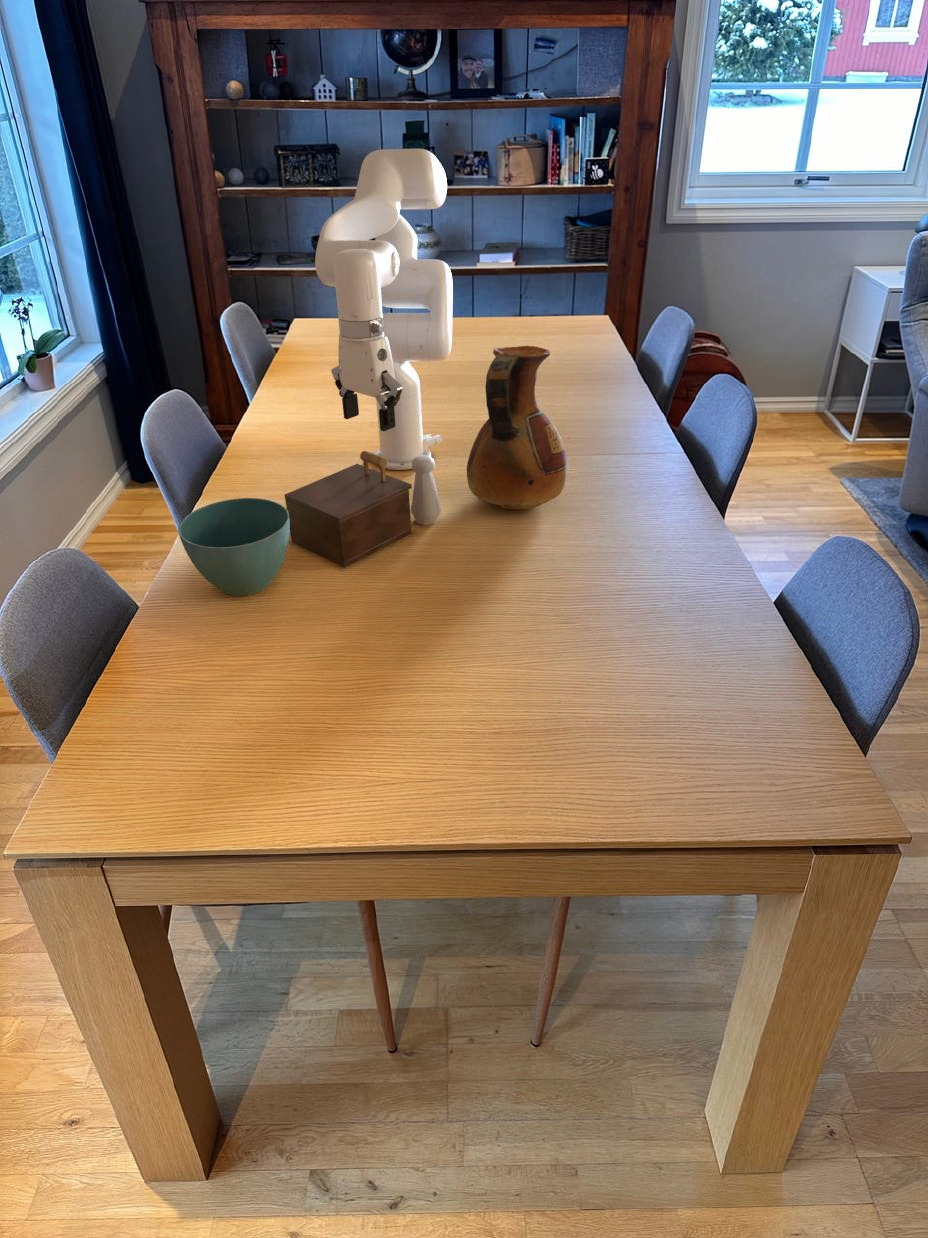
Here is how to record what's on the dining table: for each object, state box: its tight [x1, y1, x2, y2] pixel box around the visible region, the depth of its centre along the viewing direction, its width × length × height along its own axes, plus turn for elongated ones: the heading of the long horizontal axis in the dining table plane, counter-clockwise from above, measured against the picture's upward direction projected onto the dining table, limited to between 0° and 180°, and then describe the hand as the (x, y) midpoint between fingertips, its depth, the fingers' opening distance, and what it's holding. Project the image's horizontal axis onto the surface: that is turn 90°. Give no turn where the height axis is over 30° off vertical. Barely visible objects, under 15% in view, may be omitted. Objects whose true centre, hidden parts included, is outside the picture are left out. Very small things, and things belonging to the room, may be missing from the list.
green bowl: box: [177, 497, 290, 597], centre depth 157 cm, size 18×18×12 cm
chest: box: [284, 489, 413, 568], centre depth 171 cm, size 17×15×9 cm
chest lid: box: [284, 450, 413, 522], centre depth 168 cm, size 18×15×5 cm
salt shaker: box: [410, 456, 442, 526], centre depth 175 cm, size 6×6×13 cm
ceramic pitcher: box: [466, 345, 568, 510], centre depth 178 cm, size 20×20×30 cm
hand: (369, 422), depth 167 cm, fingers open, 9 cm apart
